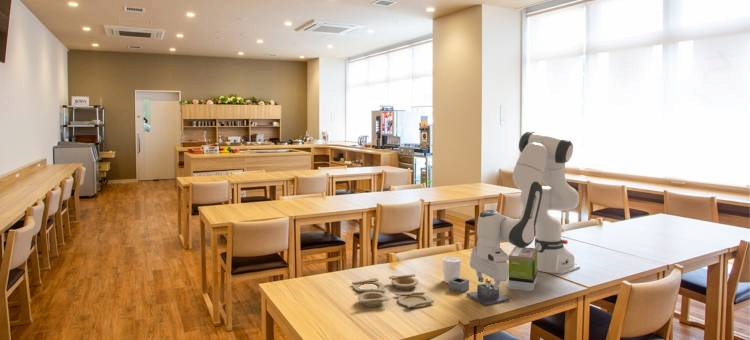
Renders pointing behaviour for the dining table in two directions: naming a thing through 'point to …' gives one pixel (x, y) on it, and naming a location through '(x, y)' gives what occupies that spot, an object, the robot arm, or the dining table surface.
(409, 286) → the tableware set
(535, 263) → the tea box
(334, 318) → the dining table surface
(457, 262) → the white cup
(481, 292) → the link
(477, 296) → the post
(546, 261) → the robot arm
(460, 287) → the link
